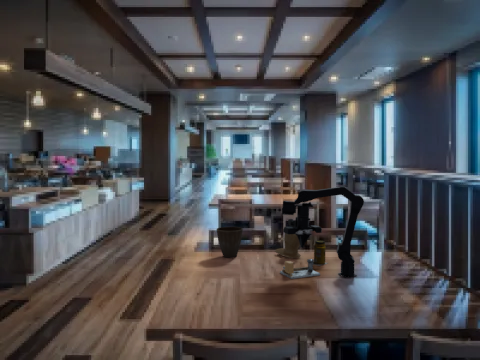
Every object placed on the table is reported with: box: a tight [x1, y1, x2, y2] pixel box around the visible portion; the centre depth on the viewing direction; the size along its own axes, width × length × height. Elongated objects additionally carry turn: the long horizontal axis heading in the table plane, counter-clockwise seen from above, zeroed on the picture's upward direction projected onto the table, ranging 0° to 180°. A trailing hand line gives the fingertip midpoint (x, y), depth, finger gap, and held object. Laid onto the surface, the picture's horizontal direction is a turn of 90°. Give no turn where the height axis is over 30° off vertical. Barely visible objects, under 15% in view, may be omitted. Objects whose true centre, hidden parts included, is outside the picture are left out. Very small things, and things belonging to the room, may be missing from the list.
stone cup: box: [274, 233, 301, 259], centre depth 247 cm, size 15×12×15 cm
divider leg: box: [282, 260, 295, 274], centre depth 209 cm, size 6×2×5 cm, turn 23°
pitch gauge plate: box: [279, 258, 321, 280], centre depth 210 cm, size 11×16×6 cm
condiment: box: [313, 240, 329, 267], centre depth 231 cm, size 7×8×12 cm
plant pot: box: [216, 226, 243, 259], centre depth 246 cm, size 15×15×16 cm
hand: (301, 247), depth 212 cm, fingers closed
